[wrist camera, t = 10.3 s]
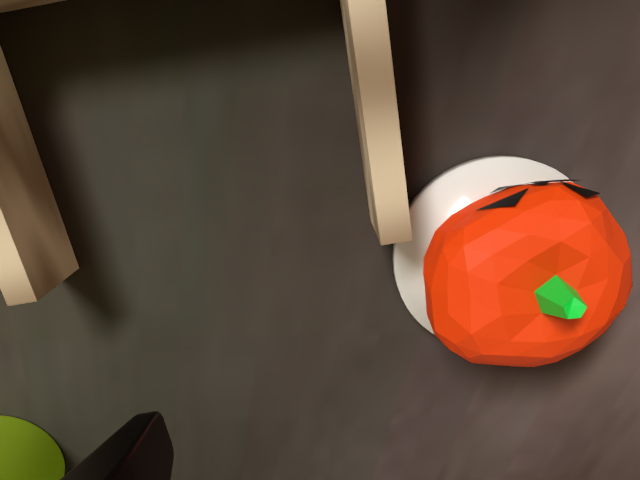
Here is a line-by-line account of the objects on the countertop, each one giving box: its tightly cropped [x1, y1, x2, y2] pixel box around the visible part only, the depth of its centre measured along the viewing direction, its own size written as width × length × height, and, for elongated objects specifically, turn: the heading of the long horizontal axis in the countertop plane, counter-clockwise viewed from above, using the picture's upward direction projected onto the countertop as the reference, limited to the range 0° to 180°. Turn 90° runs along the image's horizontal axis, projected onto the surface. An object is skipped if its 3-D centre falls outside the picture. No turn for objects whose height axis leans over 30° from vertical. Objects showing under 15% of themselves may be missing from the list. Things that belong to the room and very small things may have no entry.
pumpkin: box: [423, 179, 633, 367], centre depth 18 cm, size 7×8×6 cm
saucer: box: [392, 155, 573, 334], centre depth 21 cm, size 9×9×1 cm
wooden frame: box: [0, 0, 412, 306], centre depth 18 cm, size 12×16×4 cm
